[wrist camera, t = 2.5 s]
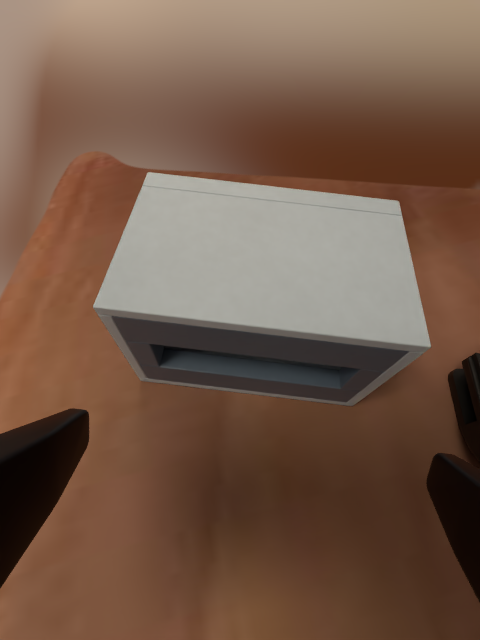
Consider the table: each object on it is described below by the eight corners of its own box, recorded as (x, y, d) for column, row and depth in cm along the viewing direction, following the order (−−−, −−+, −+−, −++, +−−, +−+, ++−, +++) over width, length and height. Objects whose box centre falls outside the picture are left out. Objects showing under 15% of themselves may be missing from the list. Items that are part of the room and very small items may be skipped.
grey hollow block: (352, 406, 21) (432, 347, 13) (140, 381, 21) (91, 306, 13) (344, 294, 25) (399, 200, 17) (170, 273, 25) (147, 171, 18)
